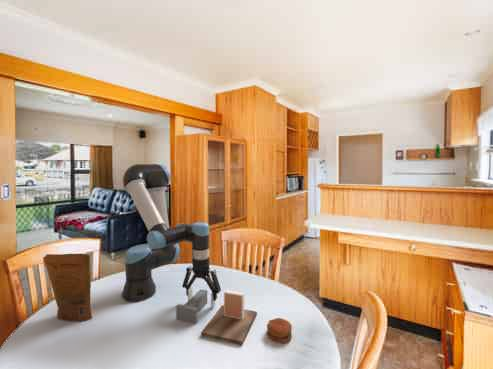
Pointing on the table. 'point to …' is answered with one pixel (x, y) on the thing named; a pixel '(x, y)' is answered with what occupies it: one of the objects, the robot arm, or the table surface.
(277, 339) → the burger
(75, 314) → the pancake mix bag
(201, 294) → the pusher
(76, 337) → the table surface
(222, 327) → the walnut board
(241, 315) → the tile
